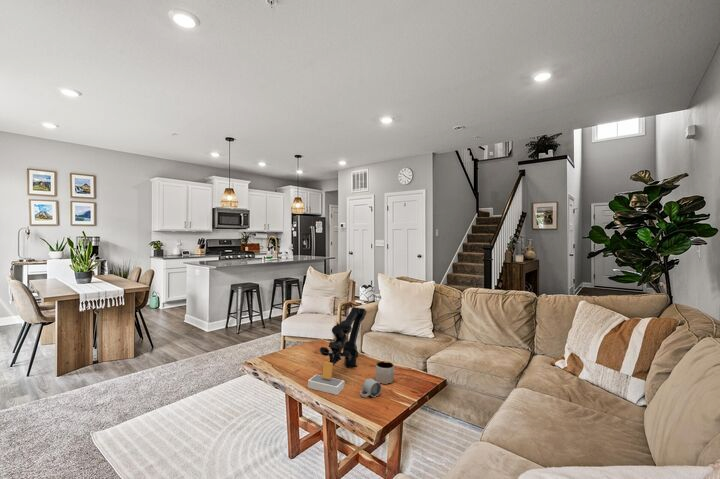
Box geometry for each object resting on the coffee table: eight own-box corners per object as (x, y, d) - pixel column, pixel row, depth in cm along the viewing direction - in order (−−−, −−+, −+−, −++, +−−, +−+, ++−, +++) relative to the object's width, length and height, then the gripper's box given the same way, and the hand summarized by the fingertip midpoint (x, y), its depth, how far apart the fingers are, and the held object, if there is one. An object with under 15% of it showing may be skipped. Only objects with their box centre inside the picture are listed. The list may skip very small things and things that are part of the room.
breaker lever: (323, 377, 185) (325, 361, 186) (331, 378, 183) (333, 363, 185) (321, 377, 183) (323, 361, 185) (329, 379, 182) (331, 363, 183)
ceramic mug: (372, 388, 184) (372, 375, 184) (381, 395, 177) (382, 381, 177) (356, 393, 178) (357, 379, 178) (365, 400, 171) (366, 386, 171)
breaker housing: (315, 381, 191) (316, 373, 191) (344, 387, 184) (344, 380, 184) (307, 387, 182) (308, 380, 182) (337, 394, 176) (337, 386, 176)
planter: (378, 385, 189) (379, 368, 189) (372, 377, 199) (373, 361, 199) (396, 384, 192) (397, 367, 191) (389, 376, 202) (390, 360, 202)
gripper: (321, 333, 195) (311, 357, 185) (350, 338, 189) (341, 364, 179) (327, 342, 203) (317, 366, 193) (355, 347, 196) (346, 373, 186)
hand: (330, 367), depth 187 cm, fingers closed
